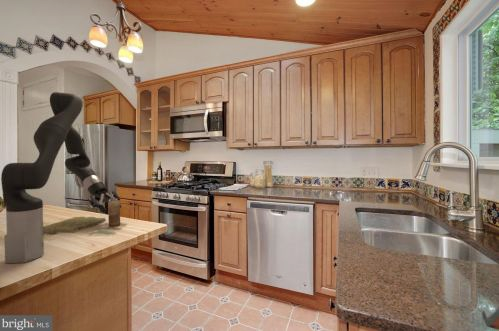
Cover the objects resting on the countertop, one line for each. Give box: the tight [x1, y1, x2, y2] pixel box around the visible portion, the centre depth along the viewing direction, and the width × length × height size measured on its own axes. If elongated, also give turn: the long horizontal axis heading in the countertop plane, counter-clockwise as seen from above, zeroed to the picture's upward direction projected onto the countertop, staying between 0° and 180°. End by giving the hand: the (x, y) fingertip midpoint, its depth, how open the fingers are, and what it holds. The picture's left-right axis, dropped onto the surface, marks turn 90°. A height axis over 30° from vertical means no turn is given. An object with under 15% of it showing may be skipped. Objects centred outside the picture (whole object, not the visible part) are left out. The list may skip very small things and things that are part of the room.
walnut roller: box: [107, 200, 121, 227], centre depth 115 cm, size 5×5×12 cm
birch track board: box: [86, 222, 130, 237], centre depth 110 cm, size 19×11×1 cm, turn 8°
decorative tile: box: [43, 216, 107, 235], centre depth 115 cm, size 19×20×4 cm
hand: (112, 210), depth 116 cm, fingers open, 8 cm apart
